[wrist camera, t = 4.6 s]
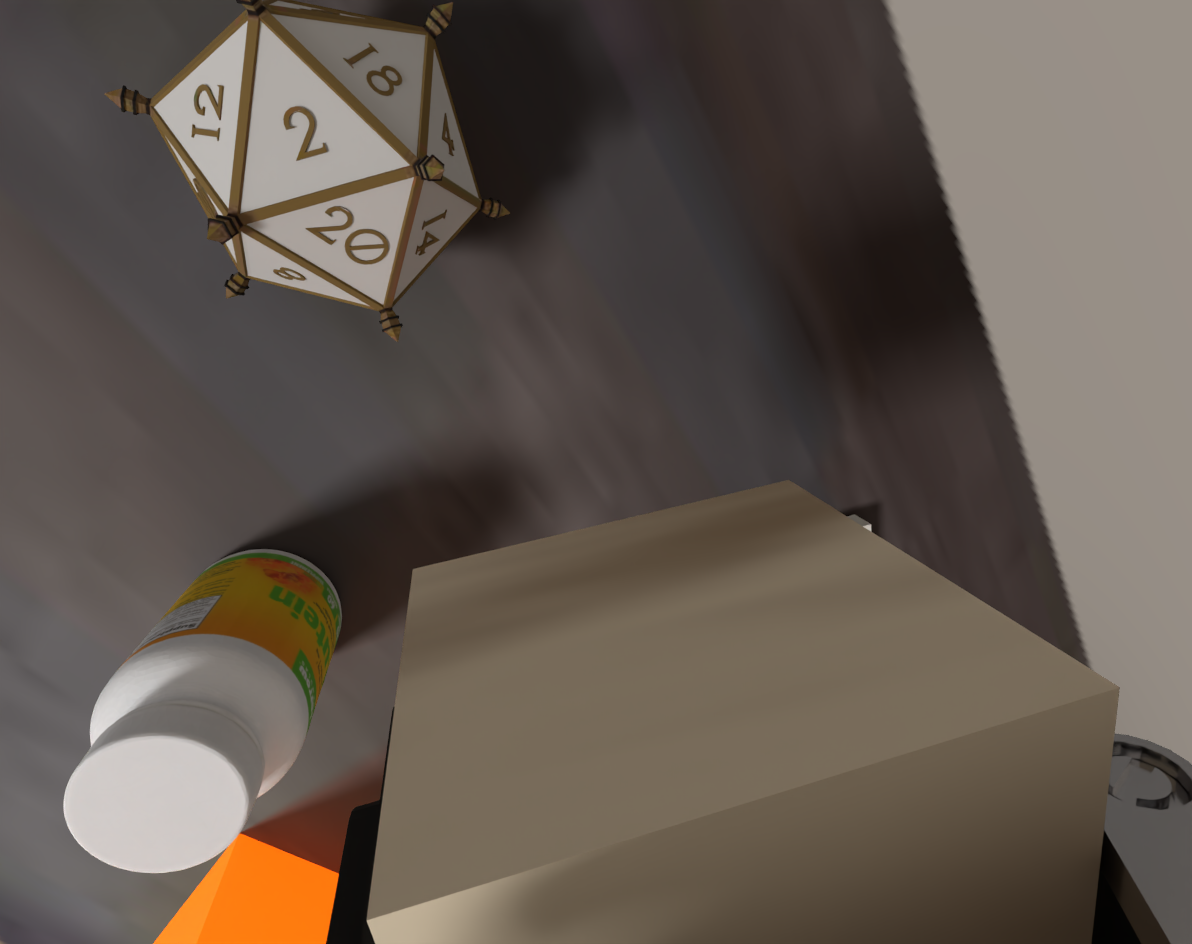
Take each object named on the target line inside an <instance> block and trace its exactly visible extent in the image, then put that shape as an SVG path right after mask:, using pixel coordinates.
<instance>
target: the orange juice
mask: <svg viewBox="0 0 1192 944" xmlns="http://www.w3.org/2000/svg"><path fill="white" fill-rule="evenodd" d="M338 877H339V874H338V873H336V872H333V871H331V870H328V869H326V868H323V867H321V866H318V865H316V864H314V863H311V862H309V861H306V860H304V859H301V858H299V857H296V856H294V855H292V854H289V853H287V852H284V851H282V850H279V849H277V848H275V847H272V846H270V845H267V844H265V843H262V842H260V841H257V840H255V839H253V838H250V837H248V836H245V835H243V834H239V835H238V836H237V838H236V839H235V840H234V841H233V842H232V843H231V844H230V846H229V847H228V848H227V849H226V851H225V852H224V853H223V855H222V856H221V857H220V858H219V860H218V861H217V862H216V864H215V865H214V866H213V867H212V869H211V870H210V871H209V873H208V874H207V875H206V876H205V878H204V879H203V880H202V882H201V883H200V884H199V885H198V887H197V888H196V889H195V891H194V892H193V893H192V894H191V896H190V897H189V898H188V900H187V901H186V902H185V903H184V905H183V906H182V907H181V909H180V910H179V911H178V912H177V914H176V915H175V916H174V918H173V919H172V920H171V921H170V923H169V924H168V925H167V927H166V928H165V929H164V930H163V932H162V933H161V934H160V936H159V937H158V938H157V939H156V941H155V942H154V943H153V944H326V940H327V935H328V930H329V924H330V919H331V914H332V908H333V903H334V898H335V893H336V887H337V882H338Z"/></svg>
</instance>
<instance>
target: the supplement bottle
mask: <svg viewBox="0 0 1192 944" xmlns="http://www.w3.org/2000/svg"><path fill="white" fill-rule="evenodd" d="M341 622H342V611H341V604H340V600H339V597H338V594H337V592H336V590H335V588H334V586H333V584H332V583H331V581H330V580H329V579H328V577H327V576H326V575H325V574H324V573H323V572H322V571H321V570H320V569H319V568H317V567H316V566H315V565H313V564H312V563H310V562H309V561H307V560H305V559H303V558H301V557H299V556H297V555H294V554H291V553H288V552H284V551H279V550H272V549H255V550H247V551H243V552H239V553H236V554H233V555H230V556H227V557H225V558H223V559H221V560H219V561H217V562H216V563H214V564H213V565H211V566H210V567H208V568H207V569H206V570H205V571H204V572H203V573H202V574H201V575H200V576H199V577H198V578H197V579H196V580H195V581H194V582H193V583H192V584H191V585H190V587H189V588H188V589H187V590H186V591H185V592H184V593H183V594H182V596H181V597H180V598H179V599H178V600H177V601H176V603H175V604H174V605H173V606H172V607H171V608H170V610H169V611H168V612H167V613H166V614H165V615H164V616H163V618H162V619H161V620H160V621H159V622H158V624H157V625H156V626H155V627H154V628H153V629H152V631H151V632H150V633H149V634H148V635H147V637H146V638H145V639H144V640H143V641H142V642H141V644H140V645H139V646H138V647H137V648H136V649H135V650H134V652H133V653H132V654H131V655H130V656H129V657H128V659H127V660H126V661H125V662H124V663H123V664H122V665H121V666H120V668H119V669H118V670H117V671H116V673H115V674H114V675H113V677H112V678H111V679H110V681H109V682H108V683H107V685H106V686H105V688H104V689H103V691H102V692H101V694H100V696H99V698H98V700H97V702H96V705H95V707H94V710H93V714H92V718H91V726H90V740H91V748H90V750H89V751H88V753H87V754H86V755H85V757H84V758H83V759H82V761H81V762H80V764H79V765H78V767H77V768H76V769H75V771H74V772H73V774H72V776H71V778H70V780H69V782H68V785H67V787H66V791H65V796H64V815H65V819H66V822H67V825H68V828H69V830H70V831H71V833H72V835H73V836H74V838H75V839H76V840H77V842H78V843H79V844H80V845H81V846H82V847H83V848H84V849H85V850H87V851H88V852H89V853H90V854H91V855H93V856H94V857H96V858H98V859H100V860H101V861H103V862H105V863H107V864H110V865H112V866H115V867H118V868H121V869H125V870H129V871H135V872H143V873H166V872H172V871H179V870H183V869H187V868H190V867H193V866H196V865H198V864H201V863H203V862H205V861H208V860H210V859H211V858H213V857H215V856H216V855H218V854H219V853H221V852H222V851H223V850H224V849H226V848H227V847H228V846H229V845H230V844H231V843H232V842H233V841H234V840H235V839H236V838H237V836H238V835H239V834H240V832H241V831H242V829H243V827H244V826H245V824H246V821H247V819H248V817H249V815H250V813H251V810H252V808H253V806H254V803H255V801H256V798H258V797H259V796H261V795H263V794H264V793H266V792H267V791H268V790H269V789H271V788H272V787H273V786H274V785H275V784H276V783H277V782H278V781H279V780H280V779H281V778H282V777H283V776H284V775H285V774H286V772H287V771H288V770H289V769H290V767H291V766H292V765H293V763H294V761H295V760H296V758H297V756H298V754H299V752H300V750H301V747H302V745H303V743H304V740H305V738H306V735H307V732H308V729H309V726H310V722H311V719H312V716H313V713H314V709H315V706H316V703H317V700H318V697H319V694H320V691H321V688H322V685H323V683H324V679H325V676H326V673H327V669H328V667H329V664H330V661H331V658H332V655H333V652H334V649H335V646H336V643H337V640H338V637H339V633H340V629H341Z"/></svg>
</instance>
